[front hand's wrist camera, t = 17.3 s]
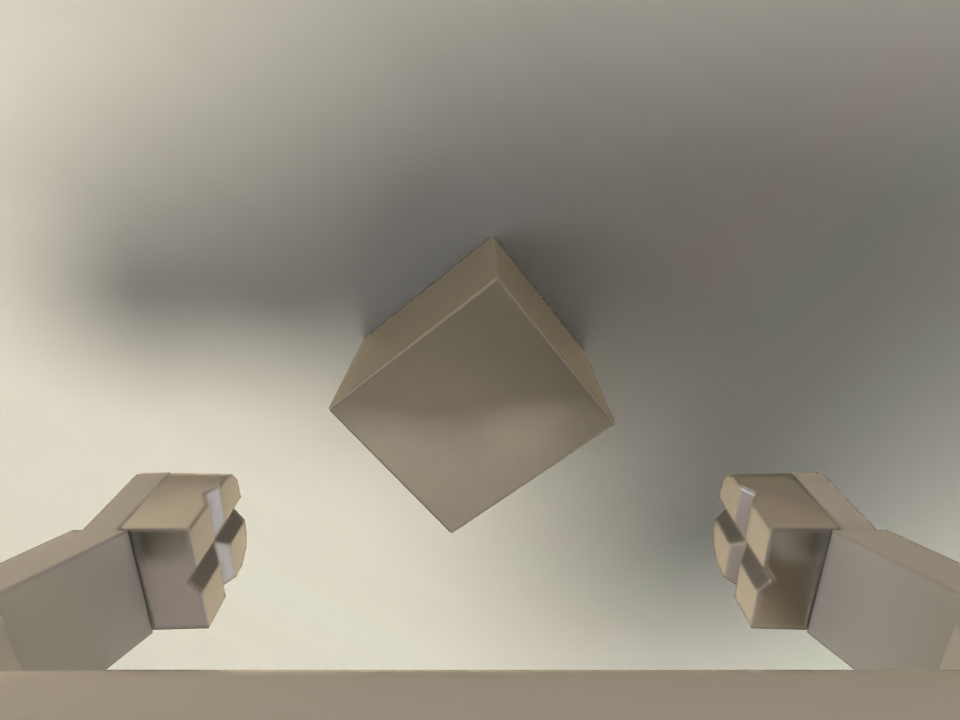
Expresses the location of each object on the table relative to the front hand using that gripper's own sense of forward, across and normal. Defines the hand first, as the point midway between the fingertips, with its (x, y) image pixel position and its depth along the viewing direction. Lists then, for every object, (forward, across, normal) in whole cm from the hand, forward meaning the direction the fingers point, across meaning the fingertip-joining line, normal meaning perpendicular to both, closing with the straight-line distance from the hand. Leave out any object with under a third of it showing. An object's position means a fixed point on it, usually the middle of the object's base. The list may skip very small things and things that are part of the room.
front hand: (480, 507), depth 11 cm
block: (+7, 0, 0) cm, 7 cm away
